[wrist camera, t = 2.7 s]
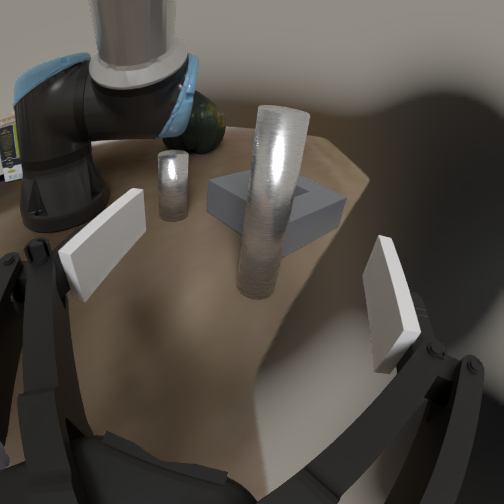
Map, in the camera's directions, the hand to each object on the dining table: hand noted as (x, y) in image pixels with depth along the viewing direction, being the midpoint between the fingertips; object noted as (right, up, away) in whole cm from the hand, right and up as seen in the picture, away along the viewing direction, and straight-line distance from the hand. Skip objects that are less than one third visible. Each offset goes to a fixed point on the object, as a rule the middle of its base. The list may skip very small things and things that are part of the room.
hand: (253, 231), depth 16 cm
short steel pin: (-11, +4, +26) cm, 28 cm away
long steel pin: (0, -5, +16) cm, 16 cm away
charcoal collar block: (+3, +4, +28) cm, 28 cm away
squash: (-15, +23, +51) cm, 58 cm away
